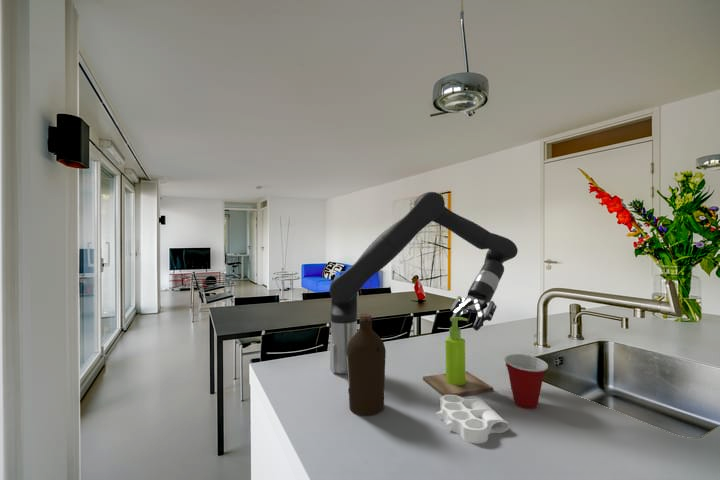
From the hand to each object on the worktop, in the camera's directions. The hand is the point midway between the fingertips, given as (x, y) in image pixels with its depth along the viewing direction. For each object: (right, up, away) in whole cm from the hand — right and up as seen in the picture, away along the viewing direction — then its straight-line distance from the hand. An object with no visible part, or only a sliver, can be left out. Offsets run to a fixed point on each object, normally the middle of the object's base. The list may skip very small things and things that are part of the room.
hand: (463, 326), depth 109 cm
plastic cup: (+13, -18, -15) cm, 27 cm away
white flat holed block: (-6, -18, -24) cm, 31 cm away
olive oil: (-31, -18, -16) cm, 39 cm away
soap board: (-3, -18, -2) cm, 18 cm away
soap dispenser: (-3, -17, -2) cm, 17 cm away
